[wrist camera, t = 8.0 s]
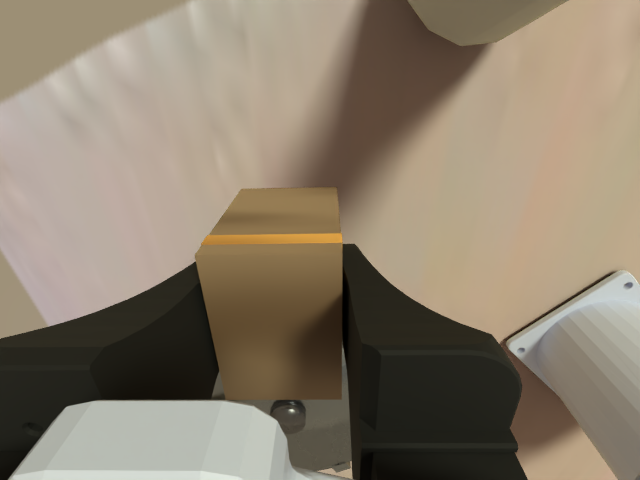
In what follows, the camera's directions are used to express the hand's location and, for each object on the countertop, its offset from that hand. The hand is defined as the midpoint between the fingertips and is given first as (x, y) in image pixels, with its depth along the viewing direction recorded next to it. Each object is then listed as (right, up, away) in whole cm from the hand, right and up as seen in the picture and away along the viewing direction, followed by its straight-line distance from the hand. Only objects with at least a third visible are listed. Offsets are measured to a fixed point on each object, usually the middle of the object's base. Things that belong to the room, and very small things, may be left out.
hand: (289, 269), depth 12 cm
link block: (0, +1, +1) cm, 2 cm away
